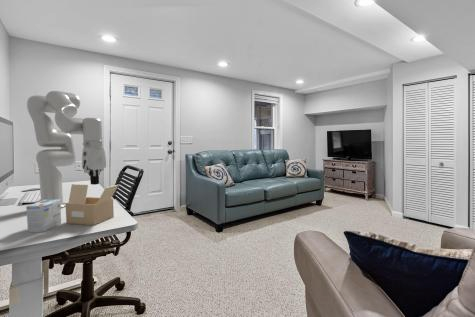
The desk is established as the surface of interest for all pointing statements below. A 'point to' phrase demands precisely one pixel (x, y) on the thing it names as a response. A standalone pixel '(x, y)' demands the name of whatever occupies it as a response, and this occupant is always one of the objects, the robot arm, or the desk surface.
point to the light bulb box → (43, 215)
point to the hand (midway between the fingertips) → (94, 184)
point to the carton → (89, 212)
